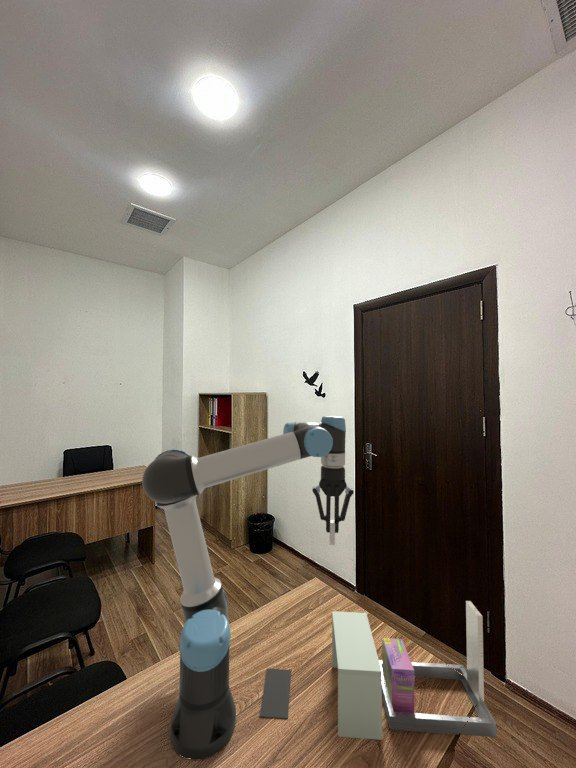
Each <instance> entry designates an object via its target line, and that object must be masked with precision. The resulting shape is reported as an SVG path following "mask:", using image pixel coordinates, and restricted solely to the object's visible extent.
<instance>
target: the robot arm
mask: <svg viewBox="0 0 576 768" xmlns="http://www.w3.org/2000/svg"><path fill="white" fill-rule="evenodd" d="M346 425H347V424H346V419H345V418H344V417H343V416H341V415H340V416H339V415H323V416H322V417H321V420H320V421H319V422H296V421H295V422H286V423H284V425H283V429H282V430H283V433H282V434H280V435H276V436H272V437H269V438H265V439H261V440H258V441H254V442H251V443H247V444H244V445H240V446H236V447H232V448H229V449H226V450H222V451H219V452H215V453H211V454H208V455H204V456H201V457H197V456H195V455H193V454H192V455H190V454H189V453H188V452H187V451H185V450H183V449H177V448H176V449H175V448H172V449H167V450H166V451H162V452H161V453H159V454H158V455H157V456H156V457H155V458H154V459H153V461H151V462H150V463H149V464H148V465H147V467H146V468H145V471H143V475H142V479H141V484H142V490H143V492H144V493H145V495H146V497H148V498H149V499H150V500H151V501H153V502H155V503H156V506H157V508H160V509H162V510H163V511H164V515H165V519H166V524H167V526H168V531H169V535H170V540H171V543H172V548H173V552H174V556H175V560H176V564H177V569H178V571H179V576H180V579H181V580H180V581H181V584H182V588H183V592H182V593H181V595H180V598H179V599H180V601H179V602H180V607H181V610H182V614H183V618H184V625H183V627H182V629H181V633H180V637H179V645H178V647H179V648H178V650H179V688H178V690H179V691H178V693H179V695H178V698H177V701H176V705H175V707H174V711H173V713H172V717H171V721H170V743H171V746H172V748H173V749H174V751H175V752H176V753H177V754H178V755H179V756H180V755H181V756H180V757H182V756H183V757H185V758H184V759H186V758H191V759H201V760H204V759H207V758H210V757H212V756H214V755H216V754H217V753H219V752H220V751H221V750H222V749H223V748H224V747H226V746H227V744H228V743H229V742H230V740H231V738H232V737H233V734H234V732H235V729H236V723H237V708H236V703H235V700H234V697H233V693H232V691H231V687H230V643H231V628H230V624H229V623H230V621H229V600H228V596H227V593H226V592H225V590H224V588H223V584H222V581H221V580H220V578H218V577H215V575H214V572H213V567H212V562H211V558H210V554H209V550H208V547H207V541H206V537H205V534H204V530H203V525H202V522H201V518H200V513H199V510H198V506H197V501H196V498H197V496H199V495H202V493H203V492H204V490H205V489H206V488H209V487H213V486H216V485H220V484H224V483H227V482H230V481H233V480H236V479H239V478H243V477H246V476H250V475H252V474H256V473H260V472H262V471H263V472H264V471H266V470H269V469H272V468H276V467H279V466H283V465H285V464H289V463H292V462H296V461H299V460H302V459H306V458H311V457H313V458H320V464H321V466H320V480H319V482H318V485H316V486H313V487H312V490H311V491H312V493H313V495H314V496H315V499H316V504H317V509H318V513H319V518H320V520H321V521H324V522H325V531H326V533H329V545H331V546H335V544H336V540H335V539H336V534H338V533H339V531H340V530H339V529H340V525H339V524H340V522H344V521H346V516H347V512H348V509H349V504H350V501H351V497H352V496H353V494H354V489H353V488H352V487H349V486H348V484H347V482H346V467H345V465H346V438H347V437H346V433H347V428H346V427H347V426H346ZM321 491H322V492H323V495H325V496H326V497H325V499H326V503H325V505H326V506H325V513H324V508H323V504H322V503H323V502H322V500H321V494H320V493H321ZM343 492H344V493H345V496H344V499H343V504H342V508H341V512H340V496H341V495H342V494H343ZM332 497H334V509H333V510H334V519H331V501H332V500H331V498H332ZM183 757H182V758H183Z"/></svg>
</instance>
